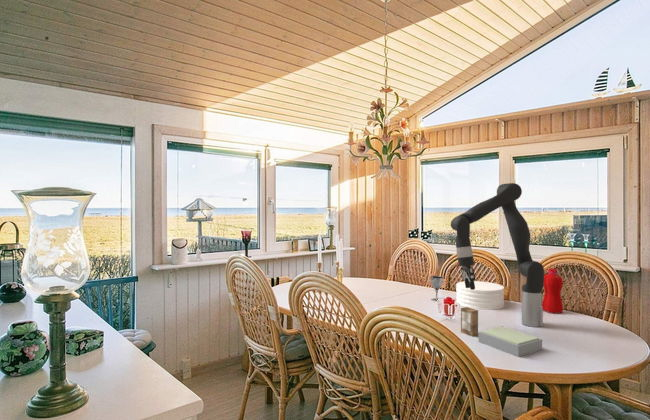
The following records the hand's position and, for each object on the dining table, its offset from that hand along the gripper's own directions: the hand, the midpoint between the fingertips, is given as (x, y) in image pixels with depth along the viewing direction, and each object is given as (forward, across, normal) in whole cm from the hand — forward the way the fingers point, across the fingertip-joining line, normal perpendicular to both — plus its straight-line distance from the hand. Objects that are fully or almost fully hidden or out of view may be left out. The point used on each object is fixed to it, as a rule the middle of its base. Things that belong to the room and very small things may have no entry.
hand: (470, 288), depth 193 cm
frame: (+21, -2, +4) cm, 22 cm away
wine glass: (+12, +64, +6) cm, 65 cm away
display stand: (+24, -16, -9) cm, 31 cm away
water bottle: (+23, +40, -55) cm, 72 cm away
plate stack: (+17, +57, -19) cm, 62 cm away
